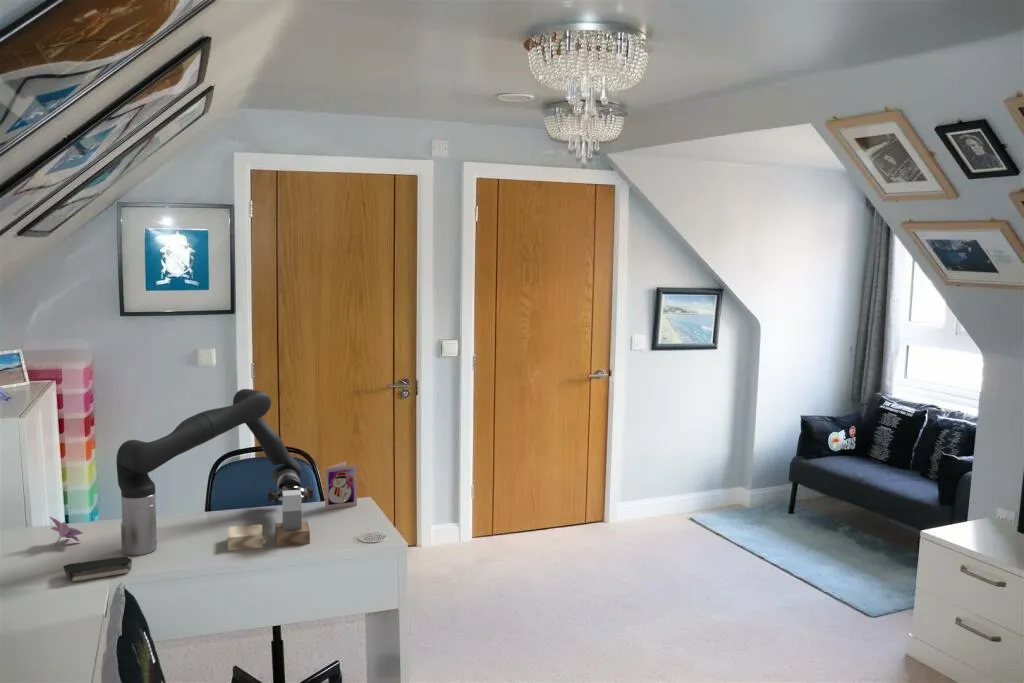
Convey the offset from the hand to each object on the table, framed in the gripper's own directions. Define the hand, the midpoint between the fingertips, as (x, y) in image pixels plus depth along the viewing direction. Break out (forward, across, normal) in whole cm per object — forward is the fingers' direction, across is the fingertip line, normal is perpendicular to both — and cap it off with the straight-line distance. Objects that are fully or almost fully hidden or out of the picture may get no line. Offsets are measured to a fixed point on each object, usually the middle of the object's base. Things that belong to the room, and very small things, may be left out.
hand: (291, 499), depth 255 cm
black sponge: (+19, -53, +12) cm, 57 cm away
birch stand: (+4, -14, +12) cm, 19 cm away
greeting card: (-28, +18, +12) cm, 35 cm away
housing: (+4, 0, +8) cm, 9 cm away
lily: (-9, -66, +12) cm, 68 cm away
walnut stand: (+4, 0, +12) cm, 12 cm away
